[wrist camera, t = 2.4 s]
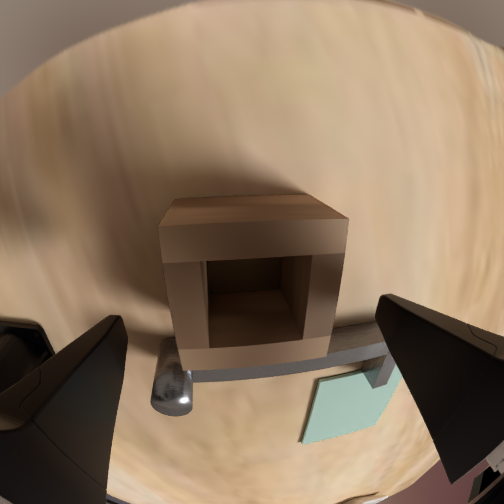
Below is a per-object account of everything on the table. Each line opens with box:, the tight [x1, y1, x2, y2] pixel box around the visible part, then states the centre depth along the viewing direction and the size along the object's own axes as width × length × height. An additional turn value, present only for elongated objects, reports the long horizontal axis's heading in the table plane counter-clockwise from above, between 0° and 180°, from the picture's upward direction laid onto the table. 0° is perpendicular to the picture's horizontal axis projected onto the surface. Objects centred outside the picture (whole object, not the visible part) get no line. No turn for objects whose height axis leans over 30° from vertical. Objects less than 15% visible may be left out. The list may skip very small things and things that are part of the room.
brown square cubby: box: [158, 195, 349, 371], centre depth 11 cm, size 6×6×4 cm
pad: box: [301, 365, 402, 445], centre depth 20 cm, size 8×10×1 cm
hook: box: [150, 321, 396, 416], centre depth 14 cm, size 15×5×4 cm, turn 90°
